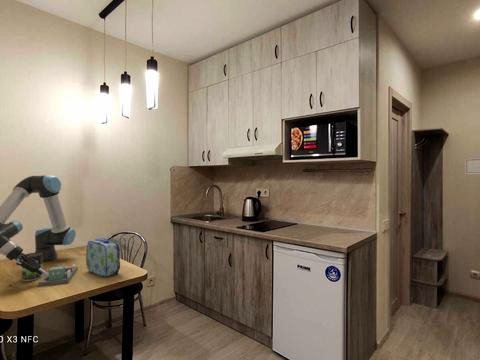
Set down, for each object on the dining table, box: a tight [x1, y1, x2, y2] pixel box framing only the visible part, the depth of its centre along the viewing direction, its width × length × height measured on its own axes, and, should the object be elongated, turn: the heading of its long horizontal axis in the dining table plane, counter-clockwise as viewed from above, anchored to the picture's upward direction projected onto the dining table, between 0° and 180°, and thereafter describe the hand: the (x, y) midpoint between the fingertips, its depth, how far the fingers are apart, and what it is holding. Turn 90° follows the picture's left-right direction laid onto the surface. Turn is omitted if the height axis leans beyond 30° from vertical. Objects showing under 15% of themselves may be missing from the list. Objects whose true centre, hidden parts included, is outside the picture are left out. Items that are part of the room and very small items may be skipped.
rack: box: [37, 264, 78, 287], centre depth 169 cm, size 25×14×5 cm, turn 19°
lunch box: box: [85, 238, 121, 278], centre depth 176 cm, size 26×11×21 cm, turn 53°
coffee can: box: [21, 252, 44, 282], centre depth 169 cm, size 10×10×14 cm
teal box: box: [48, 265, 66, 281], centre depth 163 cm, size 6×7×8 cm
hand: (47, 277), depth 162 cm, fingers closed
